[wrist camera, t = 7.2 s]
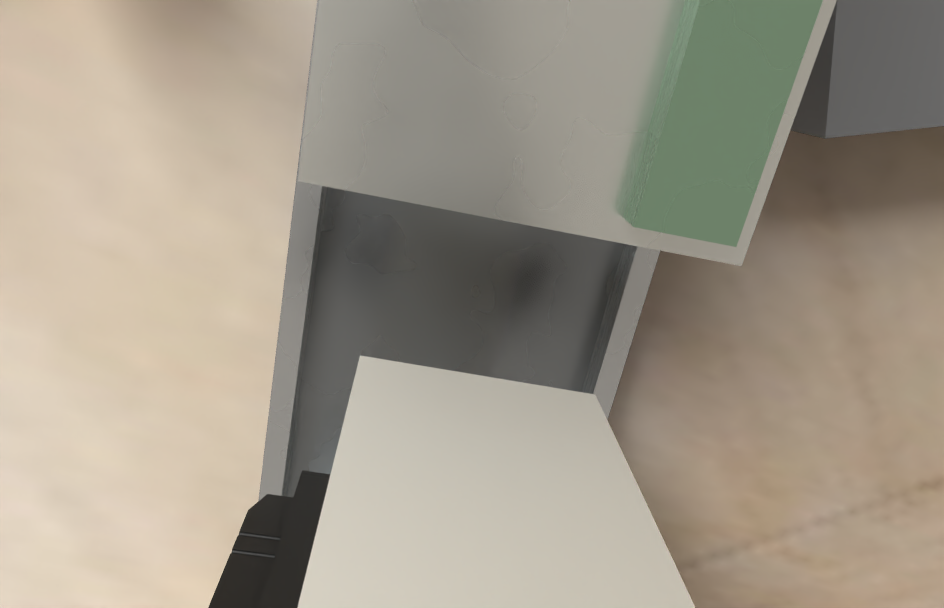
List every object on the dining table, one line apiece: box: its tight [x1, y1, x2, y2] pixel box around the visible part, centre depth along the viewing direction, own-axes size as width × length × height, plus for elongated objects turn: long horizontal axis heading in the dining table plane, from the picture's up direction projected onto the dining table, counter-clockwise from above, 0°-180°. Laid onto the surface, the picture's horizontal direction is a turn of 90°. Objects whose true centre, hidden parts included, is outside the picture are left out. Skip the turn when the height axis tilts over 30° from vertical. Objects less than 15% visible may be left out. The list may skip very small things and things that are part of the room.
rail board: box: [258, 0, 837, 502], centre depth 16 cm, size 24×9×9 cm, turn 168°
